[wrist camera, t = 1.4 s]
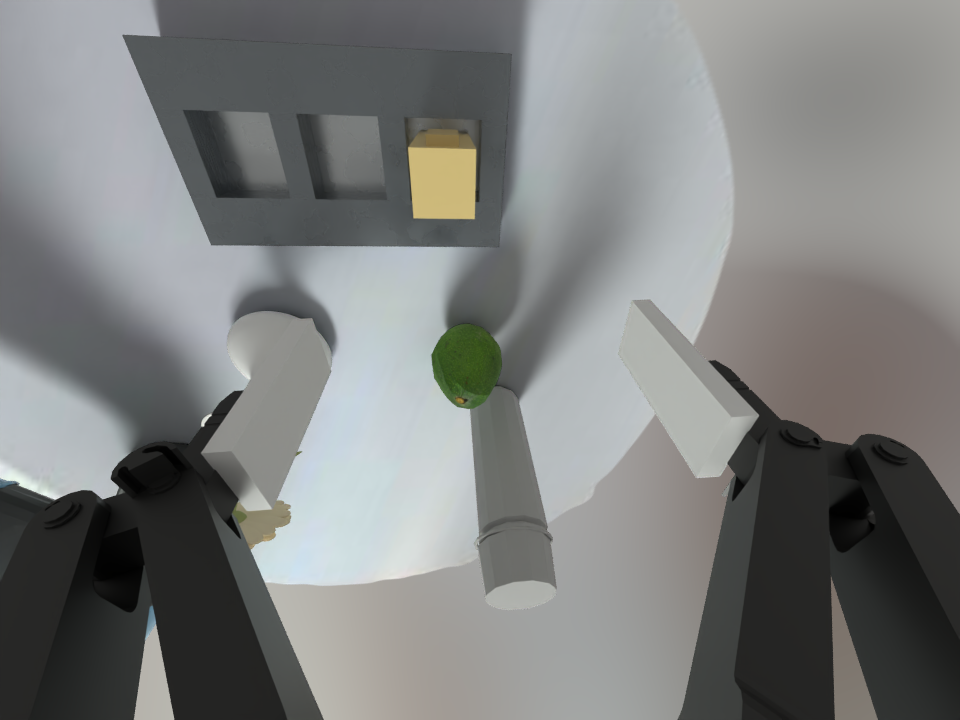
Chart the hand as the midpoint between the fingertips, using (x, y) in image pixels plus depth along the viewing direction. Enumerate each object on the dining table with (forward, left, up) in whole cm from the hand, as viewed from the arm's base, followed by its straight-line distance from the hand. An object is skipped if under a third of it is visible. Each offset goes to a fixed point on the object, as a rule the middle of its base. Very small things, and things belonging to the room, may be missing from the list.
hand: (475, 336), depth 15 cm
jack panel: (-9, +4, -25) cm, 27 cm away
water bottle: (+5, -28, -25) cm, 38 cm away
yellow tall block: (-1, +4, -24) cm, 24 cm away
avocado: (+1, -16, -25) cm, 30 cm away
